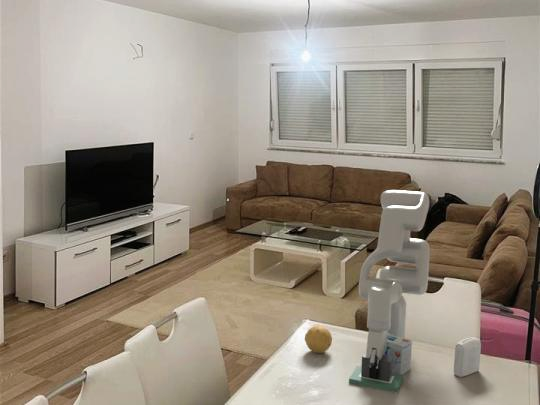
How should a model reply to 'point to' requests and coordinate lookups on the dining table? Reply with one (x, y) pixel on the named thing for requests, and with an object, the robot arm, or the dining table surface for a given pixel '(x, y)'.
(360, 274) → the robot arm
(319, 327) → the stress ball
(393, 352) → the light bulb box
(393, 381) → the board
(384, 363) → the gray rectangular block
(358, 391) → the dining table surface
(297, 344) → the dining table surface
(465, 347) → the white upright block
